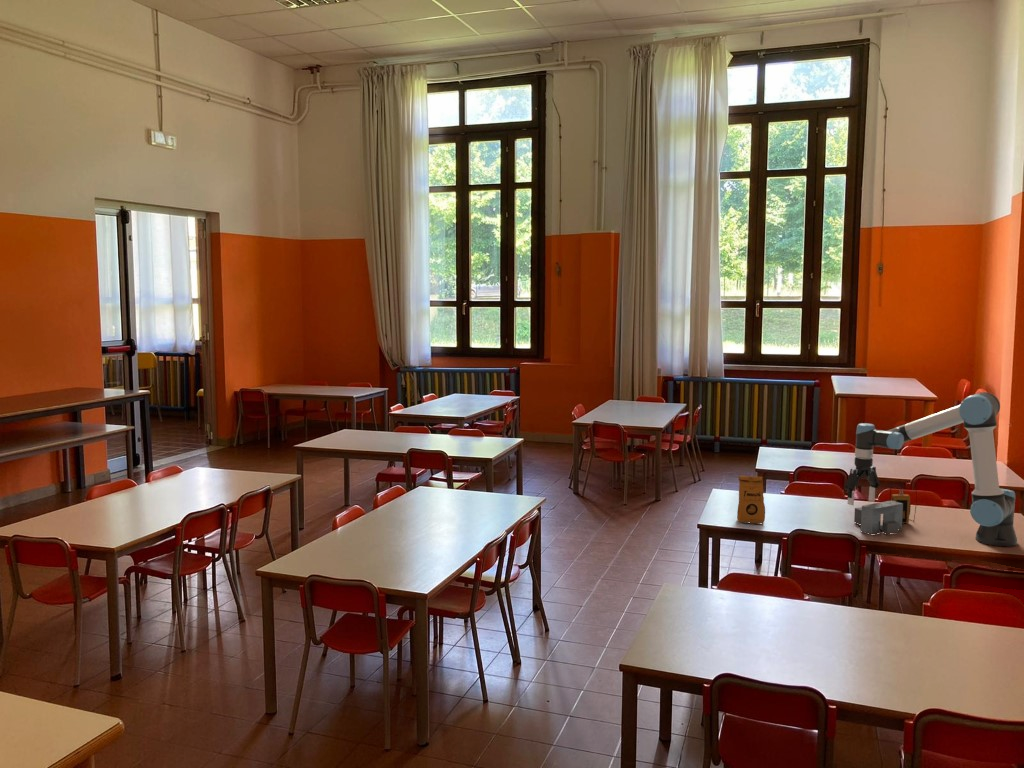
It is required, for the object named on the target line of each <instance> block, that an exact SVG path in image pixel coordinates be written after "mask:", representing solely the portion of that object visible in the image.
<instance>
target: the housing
mask: <svg viewBox="0 0 1024 768" xmlns="http://www.w3.org/2000/svg"><path fill="white" fill-rule="evenodd" d="M861 507H862V514H861V525H860V532H861V531H862V532H866V533H869V534H877V533H880V534H881V530H880V523H881V524H882V523H883V522H888V521H895V522H898V523H899V527H898V529H903V523H902V514H903V503H899V502H895V501H892V499H891V501H890V500H886V501H882V502H876V503H875V502H873V503H870V504H864V505H861ZM882 515H883V517H882ZM881 518H882V519H881ZM881 520H882V522H881ZM862 532H861V533H862ZM869 534H868V535H869Z"/></svg>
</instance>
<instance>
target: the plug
mask: <svg viewBox="0 0 1024 768" xmlns="http://www.w3.org/2000/svg"><path fill="white" fill-rule="evenodd" d="M861 514H862V506H861V507H860V506H859V507H854V519H853V520H854V521H853V522H856V523H859V524H861ZM856 523H855V524H856ZM859 524H858V525H859ZM898 527H899V523H898V522H895V521H888V522H883V521H882V522H881V523H880V531H881V533H882V532H884V533H886V534H890V533H898V534H899V530H898ZM886 534H885V535H886Z"/></svg>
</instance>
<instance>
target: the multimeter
mask: <svg viewBox="0 0 1024 768" xmlns="http://www.w3.org/2000/svg"><path fill="white" fill-rule="evenodd" d="M895 482H896V480H894V481H892V483H891V485H890V489H889V492H890V493H889V501H891V500H892V501H895V502H899V503H903V514H902V524H909V523H910V521H911V519H910V515H911V507H912V506H911V496H910V495H909V494H906V493H905V494H904V484H905V483H907V482H911V483H912V484H913V486H914V489H915V490H917V487H916V485H915V483H914V482H913V481H912V480H907V481H904V482H902V484H901V481H900V480H898V482H899V491H898V493H894V494H893V493H892V486H893V485H894V483H895ZM901 485H902V486H901ZM901 488H902V489H901ZM917 501H918V496H917V491H915V504H917V503H918V502H917ZM916 511H917V506H915V510H914V513H917V512H916ZM915 519H916V514H914V515H913V520H915Z"/></svg>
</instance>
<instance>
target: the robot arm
mask: <svg viewBox="0 0 1024 768" xmlns="http://www.w3.org/2000/svg"><path fill="white" fill-rule="evenodd" d="M1000 410H1001V403H1000V399H999V398H998V397H997V396H996V395H995V394H993V393H991V392H986V391H983V392H978V393H975V394H971V395H969V396H966V397H965V398H964V399H962V401H961V403H960V404H958V405H955V406H953V407H950V408H947V409H945V410H944V409H943V410H941V411H939V412H937V413H932V414H930V415H927V416H925V417H922V418H919V419H916V420H913V421H911V422H908V423H906V424H905V423H904V424H902V425H899V426H896V427H894V428H891V429H888V430H882V429H876V427H875V424H873V423H866V422H864V423H863V422H861V423H858V424H857V426H856V430H855V431H856V432H855V435H856V436H855V450H854V466H855V469H854V468H850V469H849V470H850V471H849V474H848V478H847V480H846V482H845V485H844V487H843V490H846V491H847V495H846V496H847V505H850V506H854V504H855V503H854V502H855V491H854V489H855V488H856V486H857V484H858V483H859V482H860V480H862V479H865V478H866V480H867V482H868V483H869V485H870V486H869V487H868V488H869V489H868V501H869V502H873V503H875V501H876V498H875V497H876V492H877V491H876V490H877V488H879V486H880V485H881V484H880V480H879V477H878V473H877V468H876V467H875V466H873V461H874V460H873V457H874V449H875V448H874V447H878V448H884V449H891V450H900V449H902V447H903V446H904V443H907V442H910V441H913V440H916V439H919V438H921V437H924V436H928V435H931V434H933V433H936V432H940V431H942V430H945V429H948V428H951V427H954V426H957V425H960V424H963V428H964V429H966V431H967V432H968V435H969V443H970V445H969V446H970V454H971V462H972V463H971V464H972V470H973V480H974V489H973V491H971V500H972V504H971V506H970V510H969V512H970V516H971V518H972V519H973V520H974V522H975V523H977V524H978V525H979V526H978V529H977V531H976V533H975V540H976V541H977V542H979V543H982V544H985V545H988V544H989V545H988V546H993V545H995V546H994V547H1001V546H1011V547H1016V546H1017V544H1018V537H1017V534H1016V533H1017V532H1016V531H1015V528H1014V520H1015V519H1014V518H1015V505H1016V504H1015V503H1016V493H1015V491H1014V490H1012V489H1011V490H1010V489H1007V488H1006V489H1005V488H1000V482H999V472H998V465H997V464H998V463H997V456H996V447H995V445H996V444H995V439H994V429H996V428H997V426H998V425H997V415H998V414H999V412H1000ZM1015 545H1016V546H1015Z"/></svg>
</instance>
